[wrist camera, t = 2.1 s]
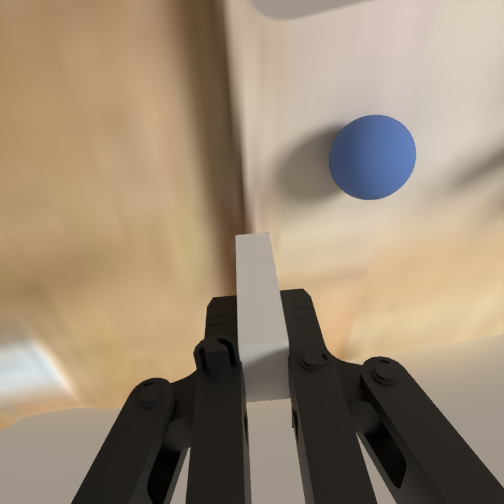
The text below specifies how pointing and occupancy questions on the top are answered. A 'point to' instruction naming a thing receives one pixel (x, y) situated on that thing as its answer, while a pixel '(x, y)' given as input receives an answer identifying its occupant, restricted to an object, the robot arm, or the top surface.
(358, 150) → the ball
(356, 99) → the top surface
